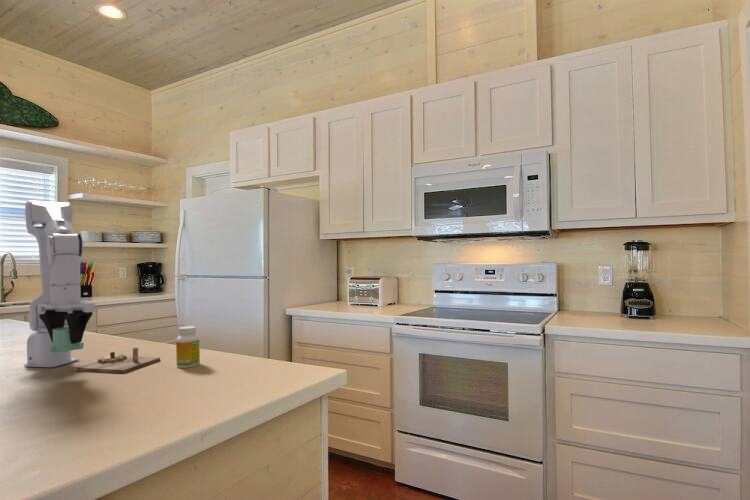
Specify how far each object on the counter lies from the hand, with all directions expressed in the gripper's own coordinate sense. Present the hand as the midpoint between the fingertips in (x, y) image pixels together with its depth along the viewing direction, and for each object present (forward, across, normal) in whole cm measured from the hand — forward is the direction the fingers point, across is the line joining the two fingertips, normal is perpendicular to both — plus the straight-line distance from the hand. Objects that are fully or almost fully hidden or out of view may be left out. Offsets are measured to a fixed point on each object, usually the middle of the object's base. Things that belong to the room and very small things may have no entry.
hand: (66, 342), depth 99 cm
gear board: (+8, +4, +11) cm, 14 cm away
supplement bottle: (+8, +22, +14) cm, 27 cm away
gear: (+2, 0, 0) cm, 2 cm away
